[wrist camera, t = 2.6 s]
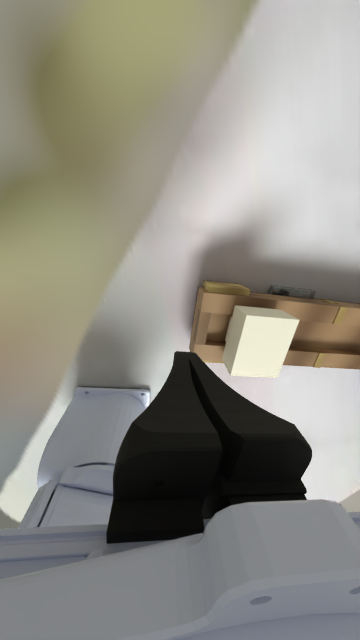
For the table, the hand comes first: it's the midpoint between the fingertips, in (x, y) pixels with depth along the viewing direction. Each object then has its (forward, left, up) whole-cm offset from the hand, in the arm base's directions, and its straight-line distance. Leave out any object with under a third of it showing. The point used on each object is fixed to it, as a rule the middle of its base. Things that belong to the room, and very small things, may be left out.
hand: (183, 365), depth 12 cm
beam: (+13, 0, -10) cm, 16 cm away
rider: (+7, 0, -7) cm, 10 cm away
